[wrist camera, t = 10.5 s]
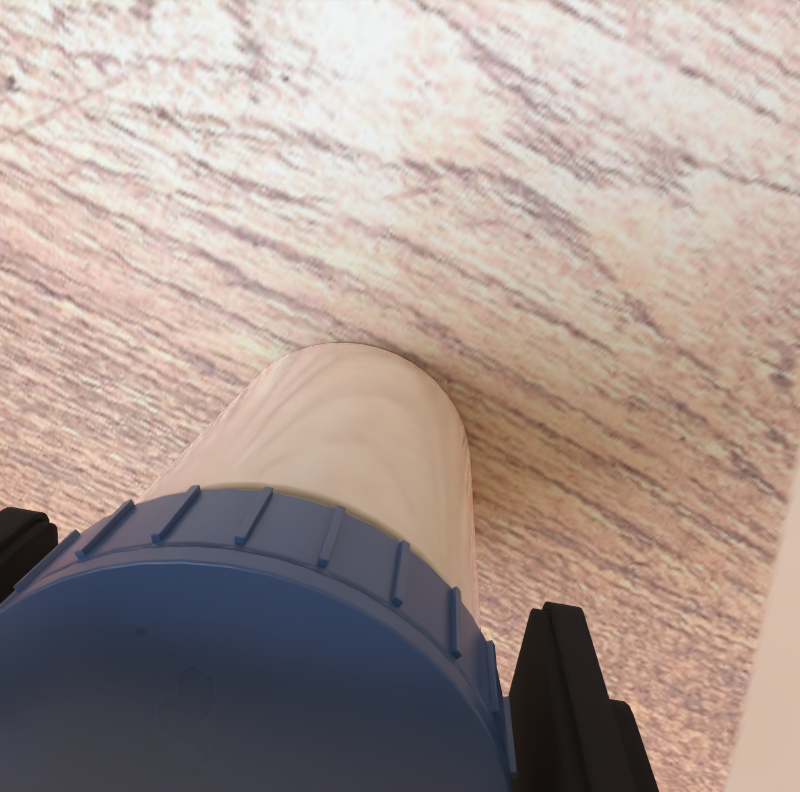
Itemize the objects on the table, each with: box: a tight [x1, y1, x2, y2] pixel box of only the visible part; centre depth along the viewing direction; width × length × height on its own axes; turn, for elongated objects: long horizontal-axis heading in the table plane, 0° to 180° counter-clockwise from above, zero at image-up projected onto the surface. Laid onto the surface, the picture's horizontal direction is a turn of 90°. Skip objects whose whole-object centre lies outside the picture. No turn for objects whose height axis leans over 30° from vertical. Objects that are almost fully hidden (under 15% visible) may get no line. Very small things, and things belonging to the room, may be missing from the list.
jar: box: [134, 343, 481, 631], centre depth 13 cm, size 6×6×10 cm
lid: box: [0, 485, 518, 792], centre depth 9 cm, size 7×7×2 cm
